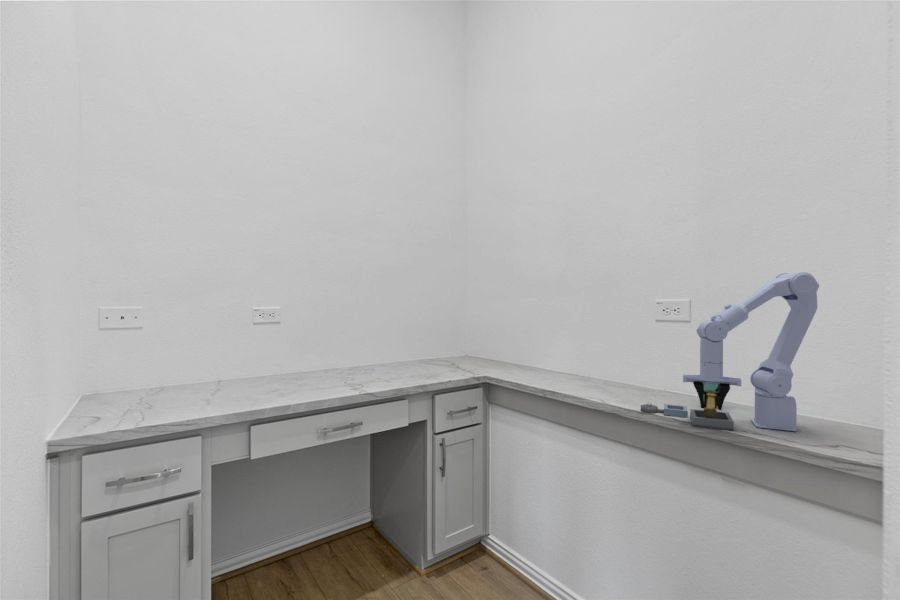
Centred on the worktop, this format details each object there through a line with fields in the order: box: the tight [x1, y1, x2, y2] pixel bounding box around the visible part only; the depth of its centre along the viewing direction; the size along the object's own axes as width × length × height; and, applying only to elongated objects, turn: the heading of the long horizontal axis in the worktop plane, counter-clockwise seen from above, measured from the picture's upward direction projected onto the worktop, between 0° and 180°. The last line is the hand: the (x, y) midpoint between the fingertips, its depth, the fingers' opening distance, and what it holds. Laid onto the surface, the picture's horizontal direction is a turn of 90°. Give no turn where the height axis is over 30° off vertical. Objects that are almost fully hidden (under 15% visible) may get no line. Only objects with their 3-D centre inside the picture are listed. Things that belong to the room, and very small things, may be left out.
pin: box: [703, 390, 719, 419], centre depth 130 cm, size 4×4×8 cm
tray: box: [689, 408, 735, 431], centre depth 130 cm, size 10×10×2 cm
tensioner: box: [640, 402, 689, 418], centre depth 141 cm, size 13×6×2 cm, turn 65°
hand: (711, 408), depth 130 cm, fingers closed on pin, 4 cm apart
